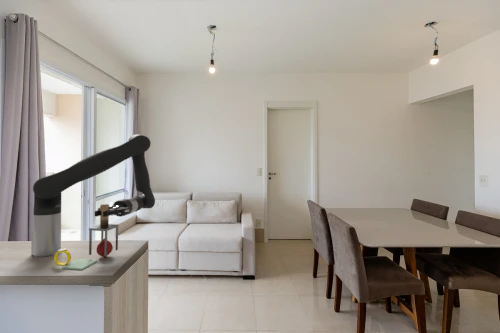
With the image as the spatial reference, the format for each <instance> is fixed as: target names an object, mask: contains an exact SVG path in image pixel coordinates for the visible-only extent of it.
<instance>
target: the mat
mask: <svg viewBox="0 0 500 333" xmlns="http://www.w3.org/2000/svg"><path fill="white" fill-rule="evenodd" d="M98 262H99V260H98V259H88V258H78V259H76V260H74V261H73V262H69V263H68V264H66V265H62V268H61V269H62V270H75V271H76V270H77V271H83V270H85V269H86V268H89V267H90V266H92V265H94V264H96V263H98Z"/></svg>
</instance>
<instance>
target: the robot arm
mask: <svg viewBox="0 0 500 333" xmlns="http://www.w3.org/2000/svg"><path fill="white" fill-rule="evenodd" d="M151 142H152V141H151V140H150V138H149V137H148V136H146V135H144V134H133V135H131V136H130V137H129V138H128V141H126V142H124V143H121V144H120V145H117V146H114V147H109V148H107V149H104V150H101V151H97V152H94V153H93V154H91V155H88V156H86V157H85V158H83V159H81V160H80V161H77V162H76V163H74V164H72V165H71V166H70V167H68V168H66V169H63V170H60V171H58V172H56V173H53V174H50V175H46V176H42V177H39V178H38V179H36V181H34V183H33V186H32V190H33V191H32V192H33V195H34V196H33V197H34V198H33V231H32V232H31V234H30V235H31V237H30V239H31V240H30V241H31V243H30V244H31V250H30V251H31V252H30V255H32V256H33V257H35V258H43V257H50V256H54V255H55V253H56V252H58V250H59V249H62V192H64V191H65V190H67V189H69V188H70V187H72V186H74V185H76V184H78V183H81V182H83V181H86V180H88V179H90V178H93V177H95V176H97V175H100V174H103V172H106V171H108V170H110V169H111V168H113V167H115V166H117V165H119V164H121V163H122V162H124V161H126V160H128V159H130V158H131V160H132V164H133V172H134V181H135V189H136V191H137V192H139V193H142V195H141V194H140V195H139V194H138V195H134V197H131V198H130V197H128V198H122V199H119V200H115V202H114V203H113V204H111V205H109V210H107V211H103V217H106V216H117V217H120V218H121V217H125V216H127V215H128V216H129V215H130V214H133V213H135V212H138V211H140V210H142V209H152V208H153V207H154V206H155V204H156V198H155V195H154V193H153V190H152V188H151V182H150V174H149V170H148V167H147V166H148V165H147V163H146V157H145V156H146V155H145V154H146V153H145V152H147V151H149V149H150V147H151ZM94 217H100V207H98V208H97V210H95V211H94Z"/></svg>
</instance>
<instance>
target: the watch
mask: <svg viewBox="0 0 500 333" xmlns="http://www.w3.org/2000/svg"><path fill="white" fill-rule="evenodd" d="M59 253H64V254H65V255H66V256H67V260H66V262H61V261H60V260H59V258H58V256H59ZM53 256H54V257H53V260H54V263H55V264H56V265H57V266H66V265H68V264H70V263H71V261H72V254H71V253H70V251H69V250H68V249H67V248H65V247H64V248H61V249H59V250H58V252H56V253H55V254H54V255H53Z"/></svg>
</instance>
